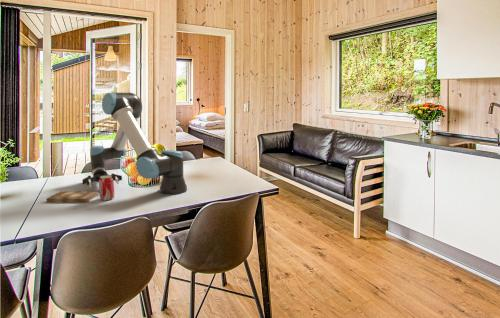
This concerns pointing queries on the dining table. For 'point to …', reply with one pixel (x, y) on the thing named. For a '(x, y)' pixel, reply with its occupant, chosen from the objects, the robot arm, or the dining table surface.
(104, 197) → the soda can
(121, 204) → the dining table surface
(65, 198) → the drinks board
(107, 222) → the dining table surface
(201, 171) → the dining table surface
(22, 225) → the dining table surface
